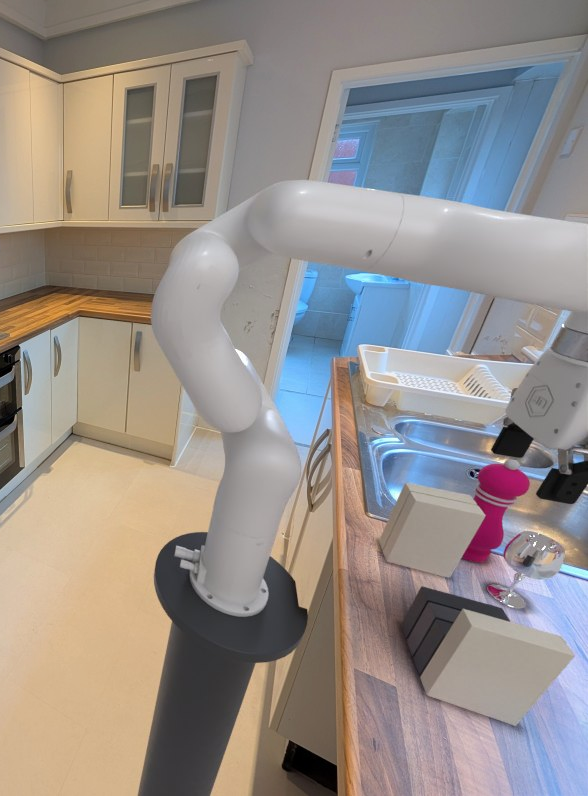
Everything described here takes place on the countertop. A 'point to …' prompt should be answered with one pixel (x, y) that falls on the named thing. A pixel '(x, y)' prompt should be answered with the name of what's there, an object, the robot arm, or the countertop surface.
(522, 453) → the robot arm
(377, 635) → the countertop surface
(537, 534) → the wineglass
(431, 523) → the beige rectangular block
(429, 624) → the dark grey grooved block
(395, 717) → the countertop surface
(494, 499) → the pepper mill
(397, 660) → the countertop surface
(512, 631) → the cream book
